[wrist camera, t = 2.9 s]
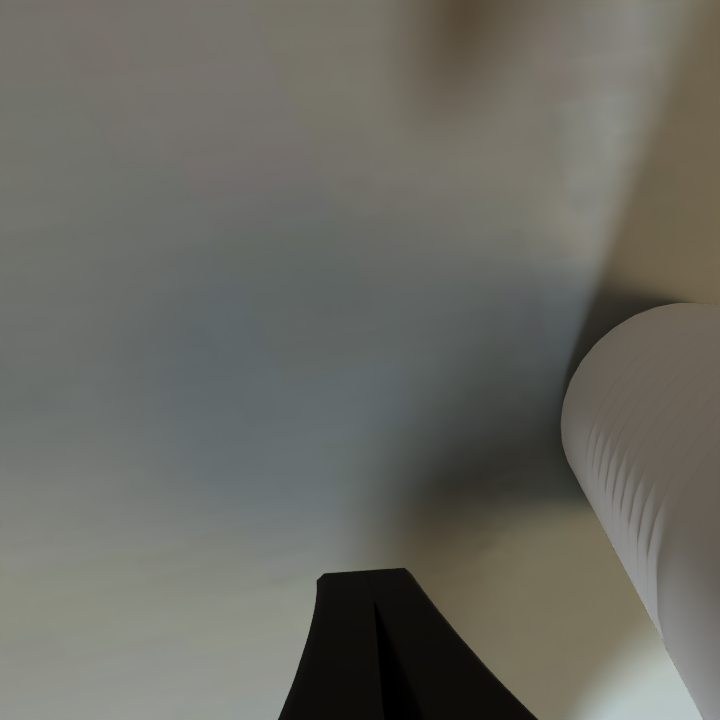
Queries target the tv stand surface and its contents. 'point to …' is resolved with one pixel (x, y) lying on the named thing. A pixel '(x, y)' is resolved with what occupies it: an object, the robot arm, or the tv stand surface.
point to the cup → (658, 473)
